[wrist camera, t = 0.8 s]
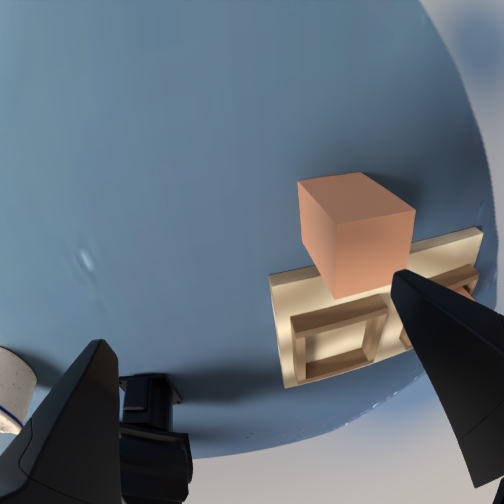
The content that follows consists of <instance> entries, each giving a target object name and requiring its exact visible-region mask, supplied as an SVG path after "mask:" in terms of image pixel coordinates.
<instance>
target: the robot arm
mask: <svg viewBox="0 0 504 504" xmlns="http://www.w3.org/2000/svg"><path fill="white" fill-rule="evenodd" d="M390 295H391V299H392V302H393V304H394V306H395V308H396V311H397V313H398V315H399V317H400V320H401V322H402V324H403V327H404V329H405V332H406V334H407V336H408V338H409V340H410V342H411V344H412V346H413V348H414V350H415V352H416V353H417V355H418V357H419V359H420V361H421V363H422V365H423V367H424V369H425V371H426V373H427V375H428V377H429V379H430V381H431V383H432V385H433V387H434V389H435V391H436V393H437V395H438V397H439V399H440V402H441V404H442V406H443V408H444V410H445V413H446V414H447V417H448V419H449V422H450V424H451V426H452V429H453V431H454V434H455V436H456V438H457V441H458V444H459V446H460V449H461V451H462V454H463V457H464V459H465V462H466V465H467V468H468V470H469V473H470V476H471V479H472V482H473V485H474V487H475V488H478V487H480V486H482V485H485V484H487V483H489V482H491V481H493V480H495V479H497V478H499V477H501V476H503V475H504V316H503V315H501V314H498V313H497V312H495V311H493V310H491V309H489V308H488V307H486V306H484V305H482V304H480V303H478V302H476V301H474V300H472V299H470V298H468V297H465V296H463V295H461V294H459V293H457V292H455V291H453V290H451V289H449V288H447V287H445V286H443V285H440V284H438V283H436V282H434V281H432V280H430V279H428V278H425V277H423V276H421V275H419V274H417V273H415V272H412V271H410V270H408V269H402V270H399V271H396V272H394V274H393V278H392V285H391V291H390ZM119 386H120V387H121V389H122V390H123V391H124V392H125V396H124V403H123V416H122V422H119V413H120V396H119ZM182 403H183V400H182V398H181V397H180V395H179V394H178V393H177V391H176V390H175V388H174V387H173V385H172V384H171V382H170V381H169V380H168V378H167V377H166V376H165V375H152V376H140V377H126V378H119V373H118V358H117V356H116V354H115V353H114V351H113V350H112V349H111V347H110V346H109V345H108V343H107V342H106V341H105V340H104V339H97V340H92V341H91V342H90V343H89V344H88V346H87V347H86V348H85V349H84V350H83V352H82V353H81V354H80V355H79V356H78V357H77V359H76V360H75V361H74V362H73V364H72V365H71V366H70V367H69V368H68V370H67V371H66V372H65V373H64V375H63V376H62V377H61V378H60V380H59V381H58V382H57V383H56V385H55V386H54V387H53V388H52V390H51V391H50V392H49V393H48V395H47V396H46V397H45V399H44V400H43V401H42V403H41V404H40V405H39V407H38V408H37V409H36V411H35V412H34V413H33V415H32V417H30V419H29V420H28V421H27V423H26V424H25V425H24V427H23V428H22V429H21V431H20V432H19V433H18V435H17V436H16V437H15V439H14V440H13V441H12V442H11V444H10V445H9V446H8V447H7V448H6V450H5V451H4V452H3V453H2V454H1V456H0V504H182V502H184V501H185V500H186V498H187V496H188V494H189V493H188V492H189V491H188V484H189V483H190V482H191V480H192V474H193V463H192V456H191V450H190V444H189V438H188V433H176V432H173V405H174V404H182ZM493 504H504V477H503V478H502V479H501V481H500V484H499V487H498V490H497V494H496V496H495V499H494V501H493Z"/></svg>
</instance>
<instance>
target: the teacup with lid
mask: <svg viewBox="0 0 504 504" xmlns="http://www.w3.org/2000/svg"><path fill="white" fill-rule="evenodd" d="M36 383H37V379H36V376H35V374H34V372H33V371H32V369H31V368H30V367H29V366H28V365H27V364H26V363H25V362H24V361H23V360H22V359H20V358H19V357H18V356H16V355H15V354H13V353H12V352H10V351H8V350H6V349H4V348H1V347H0V432H2V433H13V434H18V433H19V432H20V431H21V429H22V428H23V427H24V423H25V419H26V416H27V412H28V409H29V405H30V402H31V398H32V395H33V392H34V389H35V386H36Z"/></svg>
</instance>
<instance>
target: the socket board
mask: <svg viewBox="0 0 504 504" xmlns="http://www.w3.org/2000/svg"><path fill="white" fill-rule="evenodd" d="M482 237H483V232H481V231H480V230H479V229H477V228H476V227H472V228H468V229H465V230H461V231H457V232H453V233H449V234H445V235H441V236H438V237H434V238H430V239H426V240H422V241H418V242H414V243H411V246H410V252H409V258H408V263H407V268H406V269H408V270H410V271H412V272H415V273H417V274H419V275H421V276H423V277H425V278H428V279H430V280H432V281H434V282H436V283H438V284H440V285H443V286H445V287H447V288H449V289H451V290H453V291H455V292H457V293H459V294H461V295H463V296H465V297H468V298H470V299H472V300H474V299H473V298H472V297H471V296H472V294H473V291H474V289H475V286H476V283H477V281H478V278H479V275H480V273H479V272H478V271H477V270H476V269H475V268H474V265H475V261H476V258H477V255H478V252H479V248H480V244H481V241H482ZM268 277H269V284H270V291H271V298H272V305H273V313H274V320H275V327H276V335H277V342H278V350H279V357H280V365H281V372H282V379H283V383H284V387H285V389H286V388H290V387H294V386H298V385H303V384H307V383H310V382H314V381H318V380H322V379H325V378H329V377H332V376H336V375H339V374H342V373H346V372H349V371H352V370H355V369H358V368H361V367H364V366H367V365H370V364H373V363H376V362H379V361H381V360H384V359H387V358H390V357H392V356H395V355H397V354H400V353H403V352H405V351H408V350H410V349H412V348H413V346H412V344H411V342H410V340H409V338H408V336H407V334H406V332H405V329H404V327H403V324H402V322H401V320H400V317H399V315H398V313H397V311H396V308H395V306H394V304H393V302H392V299H391V295H390V291H391V285H392V284H391V285H388V286H384V287H381V288H377V289H373V290H370V291H366V292H363V293H359V294H355V295H351V296H348V297H344V298H340V299H336V300H334V298H333V296H332V294H331V292H330V291H329V289H328V287H327V285H326V283H325V281H324V280H323V278H322V276H321V274H320V272H319V271H318V269H317V267H316V265H314V266H310V267H305V268H301V269H296V270H291V271H287V272H282V273H277V274H272V275H268ZM474 301H475V300H474Z"/></svg>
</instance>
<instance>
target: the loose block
mask: <svg viewBox="0 0 504 504" xmlns="http://www.w3.org/2000/svg"><path fill="white" fill-rule="evenodd" d="M298 193H299V205H300V218H301V232H302V242H303V244H304V246H305V248H306V249H307V251H308V253H309V255H310V256H311V258H312V260H313V262H314V263H315V265H316V267H317V269H318V271H319V272H320V274H321V276H322V278H323V280H324V281H325V283H326V285H327V287H328V289H329V291H330V292H331V294H332V296H333V298H334V300H336V299H340V298H344V297H348V296H351V295H355V294H359V293H363V292H366V291H370V290H373V289H377V288H381V287H384V286H388V285H391V284H392V278H393V274H394V272H396V271H399V270H402V269H406V268H407V263H408V258H409V252H410V246H411V240H412V234H413V227H414V220H415V212H416V210H415V209H414V208H412V207H411V206H410V205H408V204H407V203H406V202H404V201H403V200H401V199H400V198H399V197H397V196H396V195H394V194H393V193H391V192H390V191H388V190H387V189H386V188H384V187H383V186H381V185H380V184H378V183H377V182H375V181H373V180H372V179H370V178H369V177H367V176H366V175H364V174H363V173H361V172H358V173H349V174H342V175H334V176H327V177H320V178H313V179H306V180H300V181H298Z"/></svg>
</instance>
